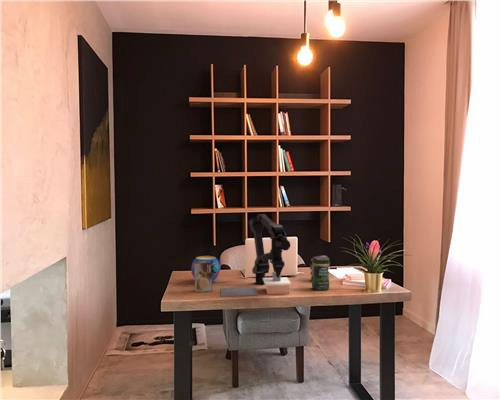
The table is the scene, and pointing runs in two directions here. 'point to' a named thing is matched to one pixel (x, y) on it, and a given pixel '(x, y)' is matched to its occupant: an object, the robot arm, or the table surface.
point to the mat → (239, 291)
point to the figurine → (313, 269)
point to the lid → (276, 280)
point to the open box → (277, 289)
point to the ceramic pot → (214, 265)
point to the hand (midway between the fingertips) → (276, 275)
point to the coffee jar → (320, 273)
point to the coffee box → (203, 276)
